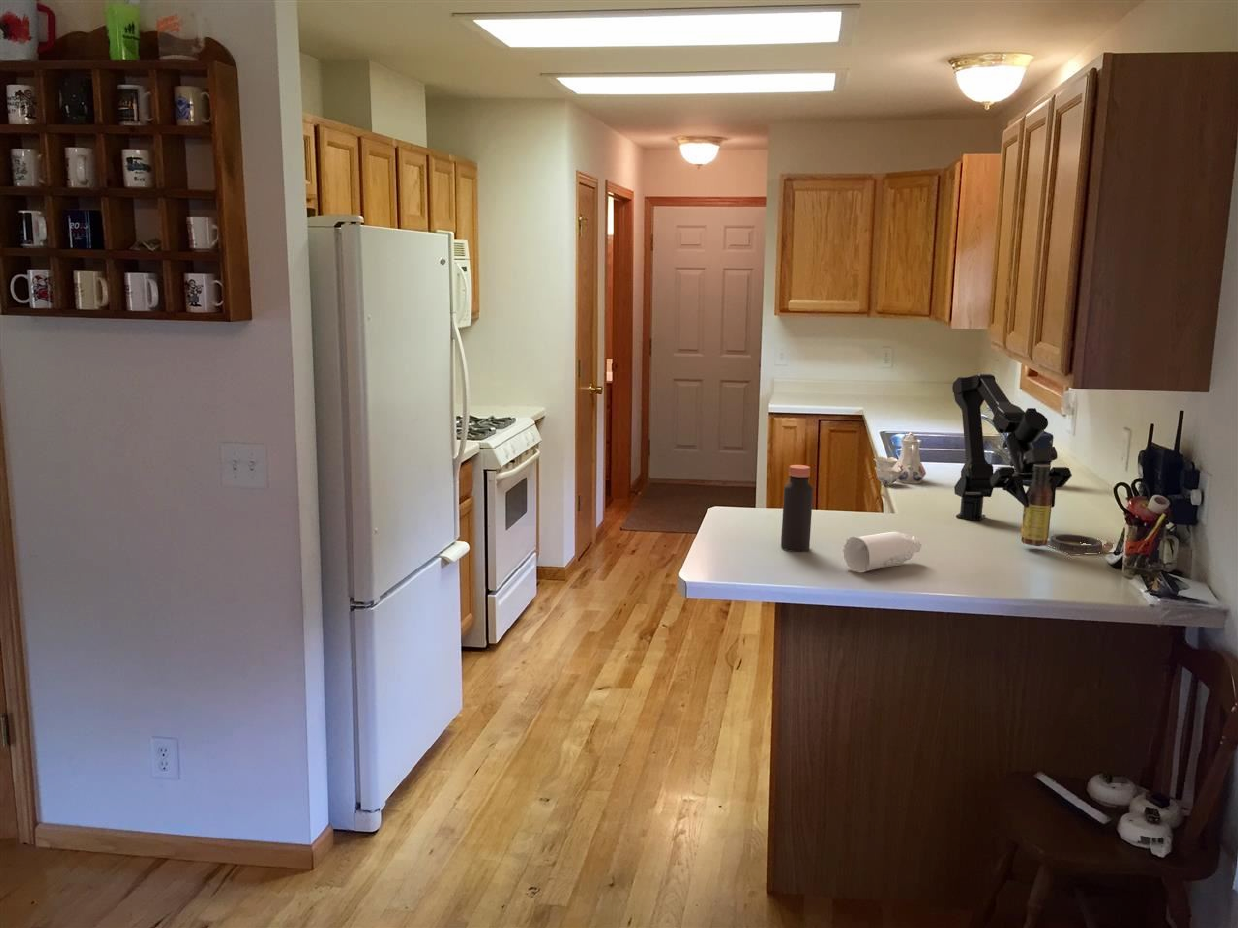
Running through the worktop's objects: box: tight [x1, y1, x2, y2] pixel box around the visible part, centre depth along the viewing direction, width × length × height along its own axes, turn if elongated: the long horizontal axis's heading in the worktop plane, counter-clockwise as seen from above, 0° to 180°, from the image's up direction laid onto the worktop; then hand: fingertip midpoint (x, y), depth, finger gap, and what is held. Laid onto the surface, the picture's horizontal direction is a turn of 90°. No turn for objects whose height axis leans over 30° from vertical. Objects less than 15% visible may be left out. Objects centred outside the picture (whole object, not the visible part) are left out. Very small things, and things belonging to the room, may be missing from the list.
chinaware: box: [873, 431, 927, 487], centre depth 337 cm, size 28×17×17 cm, turn 172°
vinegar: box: [780, 464, 814, 552], centre depth 250 cm, size 7×7×20 cm
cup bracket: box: [1047, 533, 1114, 555], centre depth 260 cm, size 18×12×2 cm, turn 105°
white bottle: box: [842, 531, 922, 573], centre depth 238 cm, size 8×19×8 cm, turn 121°
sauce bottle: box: [1020, 463, 1052, 547], centre depth 254 cm, size 6×6×20 cm
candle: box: [1023, 430, 1054, 486], centre depth 335 cm, size 10×10×18 cm
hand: (1040, 506), depth 253 cm, fingers closed on sauce bottle, 6 cm apart
